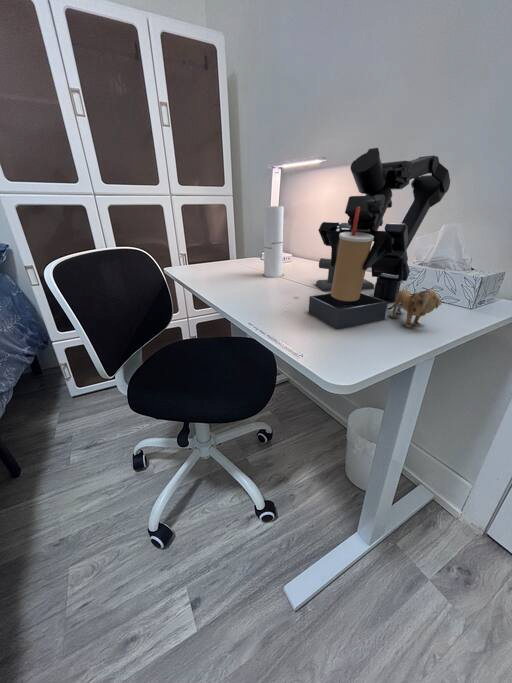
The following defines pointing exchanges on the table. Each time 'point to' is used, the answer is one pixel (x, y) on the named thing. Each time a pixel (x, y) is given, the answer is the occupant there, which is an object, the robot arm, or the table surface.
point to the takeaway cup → (351, 263)
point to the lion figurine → (415, 304)
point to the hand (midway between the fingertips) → (347, 267)
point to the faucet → (326, 264)
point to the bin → (347, 310)
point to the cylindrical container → (273, 240)
